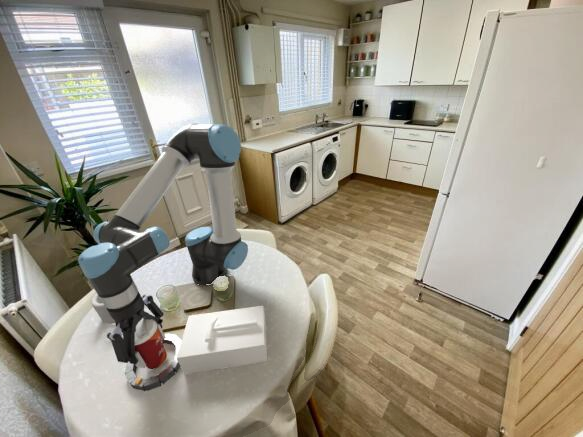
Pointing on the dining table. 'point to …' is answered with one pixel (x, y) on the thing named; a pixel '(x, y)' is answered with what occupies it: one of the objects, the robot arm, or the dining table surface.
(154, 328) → the coffee cup
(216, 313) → the white hammer box
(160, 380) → the grey stone ring
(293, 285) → the dining table surface
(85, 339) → the dining table surface
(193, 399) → the dining table surface
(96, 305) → the mug
